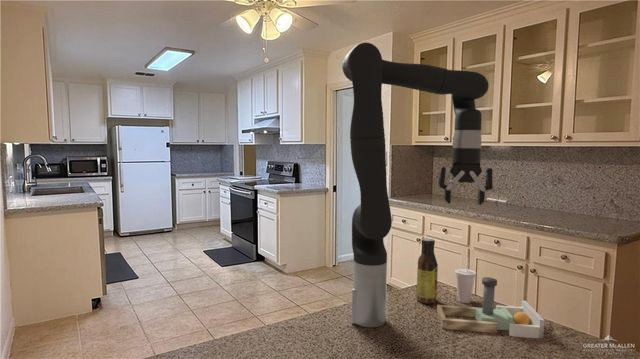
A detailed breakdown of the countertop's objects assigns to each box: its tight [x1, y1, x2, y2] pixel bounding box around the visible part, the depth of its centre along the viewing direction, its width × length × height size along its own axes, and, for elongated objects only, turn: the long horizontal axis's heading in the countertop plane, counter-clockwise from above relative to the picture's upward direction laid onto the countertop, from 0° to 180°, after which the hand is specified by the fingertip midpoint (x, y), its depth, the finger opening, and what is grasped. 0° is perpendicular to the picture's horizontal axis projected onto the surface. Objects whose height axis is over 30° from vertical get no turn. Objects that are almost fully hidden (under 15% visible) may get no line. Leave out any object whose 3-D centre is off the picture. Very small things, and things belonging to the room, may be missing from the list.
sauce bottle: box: [416, 238, 439, 305], centre depth 125 cm, size 7×6×20 cm
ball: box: [513, 312, 530, 325], centre depth 108 cm, size 4×4×4 cm
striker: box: [474, 277, 514, 331], centre depth 109 cm, size 8×7×13 cm
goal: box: [495, 300, 545, 339], centre depth 108 cm, size 8×13×5 cm, turn 172°
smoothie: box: [454, 257, 477, 304], centre depth 125 cm, size 6×6×14 cm
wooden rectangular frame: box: [436, 304, 498, 334], centre depth 111 cm, size 14×10×2 cm
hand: (464, 203), depth 112 cm, fingers open, 8 cm apart
